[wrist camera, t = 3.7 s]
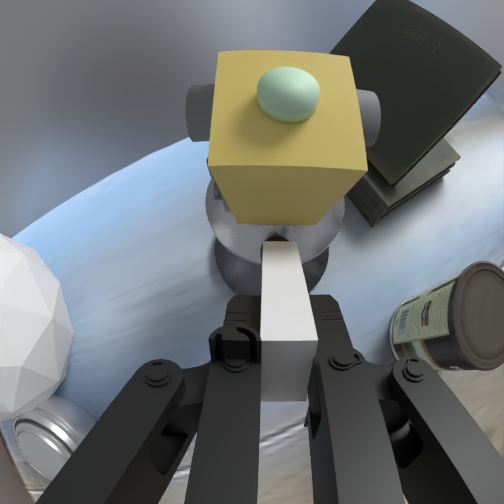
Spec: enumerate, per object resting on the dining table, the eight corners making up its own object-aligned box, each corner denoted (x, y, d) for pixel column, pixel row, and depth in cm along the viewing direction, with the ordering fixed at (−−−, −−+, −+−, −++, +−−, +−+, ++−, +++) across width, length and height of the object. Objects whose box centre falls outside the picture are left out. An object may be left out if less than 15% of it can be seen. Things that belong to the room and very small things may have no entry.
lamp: (56, 203, 34) (-70, 174, 11) (173, 408, 36) (126, 534, 12) (-16, 276, 33) (-113, 289, 10) (78, 442, 35) (17, 522, 11)
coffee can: (455, 358, 30) (526, 349, 17) (394, 380, 30) (461, 387, 17) (442, 287, 34) (507, 253, 20) (381, 302, 34) (441, 270, 20)
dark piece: (280, 122, 45) (285, -16, 21) (361, 93, 47) (389, -14, 24) (370, 229, 37) (462, 90, 14) (444, 178, 40) (518, 75, 17)
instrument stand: (329, 306, 34) (385, 259, 17) (212, 304, 34) (168, 256, 18) (322, 203, 39) (354, 109, 22) (220, 201, 39) (196, 105, 23)
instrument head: (334, 225, 22) (410, 167, 9) (218, 223, 22) (162, 159, 10) (330, 154, 22) (383, 51, 10) (221, 152, 23) (183, 44, 10)
